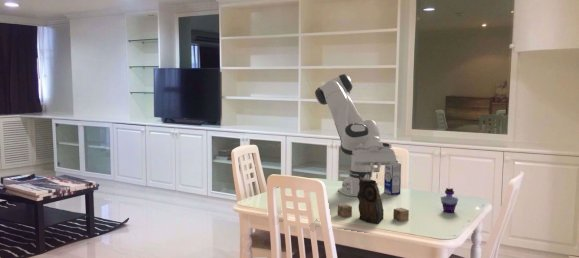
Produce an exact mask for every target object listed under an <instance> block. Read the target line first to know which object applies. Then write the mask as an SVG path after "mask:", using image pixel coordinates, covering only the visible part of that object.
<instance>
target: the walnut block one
mask: <svg viewBox="0 0 579 258" xmlns="http://www.w3.org/2000/svg"><path fill="white" fill-rule="evenodd" d="M352 210H353V206H352V205H349V204H345V203H344V204H340V205H337V216H338V217H341V218H343V219H345V218H350V217H351V218H352V217H353V211H352Z"/></svg>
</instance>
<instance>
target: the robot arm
mask: <svg viewBox="0 0 579 258" xmlns="http://www.w3.org/2000/svg"><path fill="white" fill-rule="evenodd" d="M352 81H353V80H352V79H351V77H350V76H349V75H347V74H345V73H342V74H339V75H338V76H336V77H333V78H331V79H330V80H328V81H326V82H324V84H322V85H321V86H319V87H317V89H315V92H314V94H315V99H316V101H317V102H318V103H319V104H320V105H323V106H324V105H327V106H328V109H329V111H330V114H331V116H332V120H333V122H334V125H335V128H336V131H337V133H338V137H339V139H340V150H341V151H342V152H343V153H344V154H346V155H347V156H351V160H350V161H351V169H350V170H348V172H349V175H348V177H346V178H345V179H344V180H343V181H342V183H341V187H340V188H338V189H337V191H338V192H340V193H342V194H343V195H345V196H347V197H358V192H359V177H361V178H367V179H371V180H373V179H372V178H371V177H372V173H380V171H381V167H382V166H385V165H395V163H396V161H397V156H396V153H395V151H394V149H393V148H392V144H391V143H388V142H385V141H382V140H381V139H380V138H381V135H380V134H381V133H380V129H379V127H378V125H377V123H376V122H375V120H372V119H365V120H364V119H363V117H362V116H361V114H360V113H359V111H358V109H357V107H356V106H355V104H354V102H353V100H352V99H351V97H350V94H351V91H352V89H353V82H352ZM348 94H349V95H348ZM376 166H377V167H376Z"/></svg>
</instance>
